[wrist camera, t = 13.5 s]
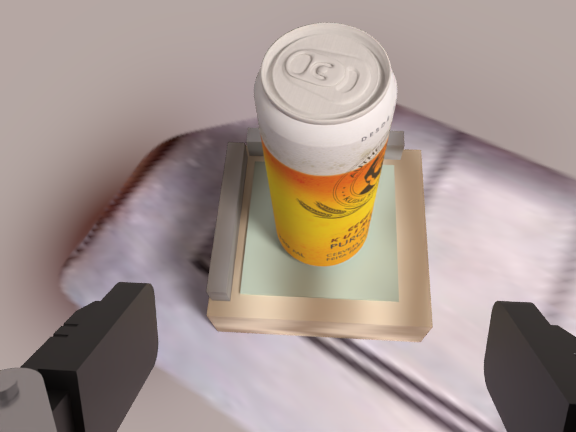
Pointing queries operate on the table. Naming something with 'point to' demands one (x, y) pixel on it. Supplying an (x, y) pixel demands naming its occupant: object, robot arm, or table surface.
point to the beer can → (324, 136)
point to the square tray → (314, 279)
